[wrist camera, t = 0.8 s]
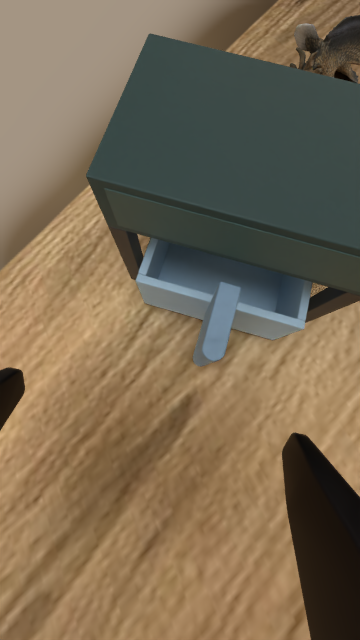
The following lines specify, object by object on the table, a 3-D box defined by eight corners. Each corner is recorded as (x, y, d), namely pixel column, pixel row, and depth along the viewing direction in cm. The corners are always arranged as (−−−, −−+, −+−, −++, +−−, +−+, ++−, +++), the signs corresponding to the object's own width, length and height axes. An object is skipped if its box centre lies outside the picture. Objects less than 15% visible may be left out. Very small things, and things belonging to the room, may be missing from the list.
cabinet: (297, 326, 23) (435, 271, 11) (130, 279, 24) (84, 176, 12) (315, 236, 25) (447, 103, 13) (161, 194, 26) (148, 31, 14)
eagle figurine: (317, 120, 27) (399, 78, 26) (320, 23, 22) (423, -33, 21) (279, 113, 32) (347, 78, 31) (274, 33, 27) (355, -11, 26)
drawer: (263, 387, 22) (330, 395, 12) (129, 347, 22) (96, 326, 13) (294, 242, 25) (366, 161, 15) (175, 210, 25) (176, 113, 16)
